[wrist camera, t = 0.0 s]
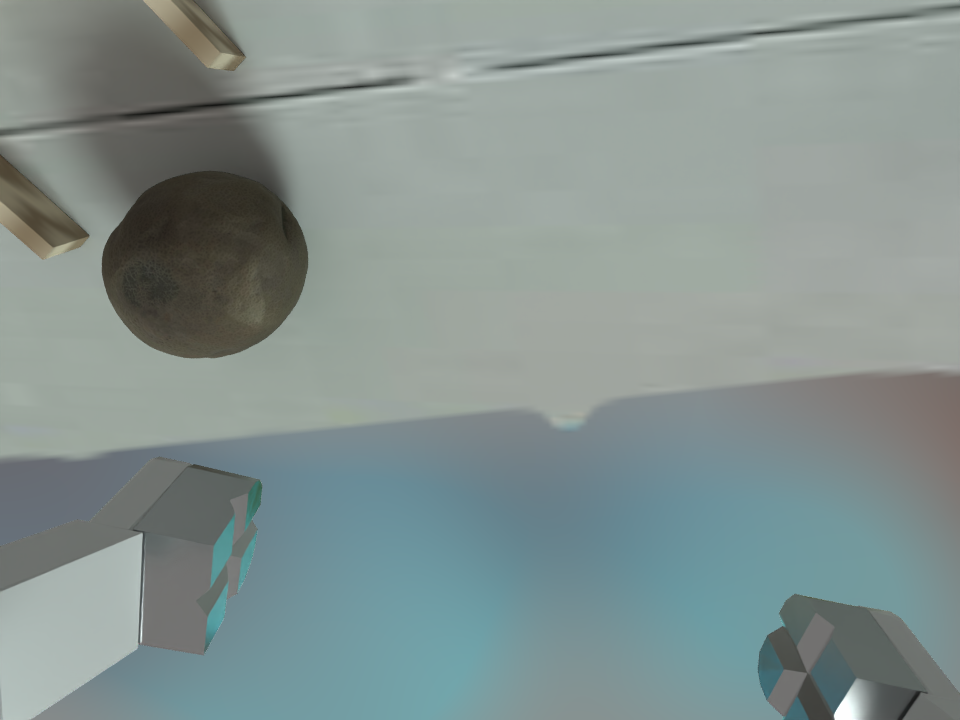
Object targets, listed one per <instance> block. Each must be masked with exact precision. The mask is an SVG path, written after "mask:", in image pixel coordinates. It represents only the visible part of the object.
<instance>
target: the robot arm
mask: <svg viewBox="0 0 960 720" xmlns="http://www.w3.org/2000/svg"><path fill="white" fill-rule="evenodd" d="M261 495H262V483H261V481H260V480H259V479H255V478H251V477H246V476H242V475H238V474H234V473H229V472H225V471H221V470H217V469H212V468H208V467H204V466H199V465H195V464H194V465H192V464H190V463H186V462H181V461H176V460H172V459H167V458H162V457H157V458H153V459H151V460H149V461H148V462H147V463H146V464H145V465H144V466H143V467H142V469H141V470H140V471H139V472H138V473H137V474H136V475H135V476H134V477H133V478H132V479H131V480H130V481H129V482H128V483H127V484H126V485H125V486H124V487H123V488H122V489H121V490H120V491H119V492H118V493H117V494H116V495H115V496H114V497H113V498H112V499H111V500H110V501H109V502H108V503H107V504H106V505H105V506H104V507H103V508H102V509H101V510H100V511H99V512H98V513H97V514H96V515H95V516H94V517H93V518H92V519H91V520H90V521H89V522H88V521H83V520H78V519H77V520H75V521H72V522H69V523H66V524H63V525H60V526H57V527H54V528H51V529H49V530H45V531H43V532H40V533H37V534H34V535H31V536H28V537H26V538H22V539H19V540H17V541H14V542H11V543H8V544H5V545H2V546H0V720H30V719H32V718H34V717H35V716H37V715H38V714H40V713H41V712H43V711H44V710H46V709H47V708H49V707H50V706H52V705H53V704H55V703H56V702H58V701H59V700H61V699H62V698H64V697H65V696H67V695H68V694H70V693H71V692H73V691H74V690H76V689H77V688H79V687H80V686H82V685H83V684H85V683H86V682H88V681H89V680H91V679H92V678H94V677H95V676H97V675H98V674H100V673H101V672H103V671H104V670H106V669H107V668H109V667H110V666H112V665H113V664H115V663H116V662H118V661H119V660H121V659H122V658H124V657H125V656H127V655H128V654H130V653H131V652H133V651H135V650H136V649H137V648H138V644H139V645H145V646H151V647H157V648H163V649H169V650H175V651H181V652H187V653H193V654H199V655H204V654H205V652H206V650H207V649H208V647H209V645H210V643H211V641H212V639H213V638H214V636H215V634H216V632H217V630H218V628H219V626H220V625H221V623H222V621H223V619H224V617H225V609H226V600H227V599H228V598H230V597H232V596H234V595H236V594H237V593H238V591H239V589H240V587H241V585H242V583H243V582H244V580H245V577H246V575H247V572H248V569H249V566H250V563H251V561H252V557H253V553H254V549H255V544H256V537H257V531H258V529H257V528H256V526H255V524H254V523H253V521H252V518H253V517H254V515H255V513H256V512H257V510H258V508H259V507H260V505H261ZM779 615H780V618H781V622H782V625H783V626H782V627H780V628H779V629H777V630H775V631H774V632H772V633H770V634H769V635H767V637H766V639H765V641H764V644H763V646H762V648H761V650H760V652H759V663H758V674H759V680H760V685H761V688H762V690H763V692H764V695H765V697H766V700H767V701H768V702H769V703H770V704H771V705H772V706H773V707H774V708H775V709H776V710H777V711H778V712H779V713H780V714H781V715H782V716H783V718H782V720H960V693H959V692H958V690H957V689H956V688H955V687H954V685H953V684H952V683H951V682H950V680H949V679H948V678H947V676H946V675H945V674H944V673H943V671H942V670H941V669H940V667H939V666H938V665H937V664H936V662H935V661H934V660H933V658H932V657H931V656H930V655H929V653H928V652H927V651H926V650H925V648H924V647H923V646H922V644H921V643H920V642H919V641H918V639H917V638H916V637H915V635H914V634H913V633H912V632H911V630H910V629H909V628H908V627H907V625H906V624H905V623H904V621H903V620H902V619H901V618H900V617H898V616H896V615H895V614H893V613H892V612H889V611H884V610H879V609H873V608H867V607H862V606H852V605H847V604H842V603H837V602H832V601H827V600H822V599H817V598H812V597H807V596H802V595H797V594H794V595H792V596H791V597H790V598H789V599H787V600H786V602H785V603H784V605H783V607H782V609H781V610H780V612H779Z"/></svg>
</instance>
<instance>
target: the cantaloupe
mask: <svg viewBox="0 0 960 720" xmlns="http://www.w3.org/2000/svg"><path fill="white" fill-rule="evenodd" d="M307 269H308V251H307V246H306V242H305V239H304V235H303V232H302V230H301V227H300V226H299V224H298V221H297V220H296V218H295V217H294V216H293V214H292V212H291V211H290V210H289V209H288V207H287V206H286V205H285V204H284V203H283V202H282V201H281V200H280V199H279V198H278V197H277V196H276V195H275V194H273V193H272V192H271V191H269V190H268V189H267V188H266V187H265V186H263V185H262V184H260V183H258V182H256V181H253V180H250V179H247V178H244V177H240V176H237V175H234V174H230V173H226V172H218V171H204V172H195V173H189V174H184V175H180V176H176V177H173V178H170V179H167V180H165V181H163V182H161V183H158V184H156V185H155V186H153V187H151V188H150V189H148V190H147V191H145V192H144V193H143V194H142V195H141V196H140V197H139V198H138V200H137V201H136V202H135V204H134V205H133V206H132V207H131V209H130V210H129V211H128V213H127V214H126V216H125V218H124V219H123V221H122V222H121V223H120V224H119V225H118V227H117V228H116V229H115V230H114V231H113V232H112V233H111V235H110V237H109V239H108V241H107V243H106V245H105V248H104V251H103V257H102V276H103V281H104V285H105V288H106V292H107V295H108V297H109V300H110V302H111V304H112V306H113V307H114V309H115V311H116V313H117V314H118V316H119V317H120V318H121V320H122V321H123V323H124V324H125V325H126V326H127V327H128V328H129V330H130V331H131V332H132V333H133V334H134V335H135V336H136V337H138V338H139V339H140V340H141V341H143V342H144V343H145V344H147V345H149V346H150V347H152V348H154V349H156V350H159V351H162V352H165V353H168V354H171V355H175V356H179V357H183V358H218V357H223V356H227V355H232V354H235V353H238V352H241V351H243V350H246V349H247V348H249V347H251V346H253V345H255V344H257V343H259V342H260V341H262V340H264V339H265V338H267V337H268V336H269V335H270V334H272V333H273V332H274V331H275V330H276V329H277V328H278V327H279V326H280V325H281V324H282V323H283V321H284V320H285V319H286V318H287V316H288V315H289V314H290V313H291V311H292V310H293V308H294V307H295V305H296V304H297V302H298V300H299V297H300V295H301V292H302V289H303V286H304V283H305V278H306V274H307Z"/></svg>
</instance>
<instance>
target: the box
mask: <svg viewBox="0 0 960 720" xmlns="http://www.w3.org/2000/svg"><path fill="white" fill-rule="evenodd" d="M143 1H144V2H145V3H146V4H147V5H148V6H149V7H150V8H151V9H152V10H153V11H154V12H155V13H156V15H157V16H158V17H159V18H160V19H161V20H162V21H163V22H164V23H165V24H166V25H167V26H168V27H169V28H170V29H171V30H172V31H173V32H174V33H175V34H176V35H177V37H178V38H179V39H180V40H181V41H182V42H183V43H184V44H185V45H186V46H187V47H188V48H189V49H190V50H191V51H192V52H193V53H194V54H195V55H196V56H197V58H198V59H199V60H200V61H201V62H202V63H203V64H204V65H205V66H206V67H207V68H213V69H222V70H230V71H234V70H235V69H236V68H237V67H238V65H239V64H240V63H241V62H242V61H243V60H244V59H245V56H244V55H243V54H242V52H241V51H240V50H239V49H238V48H237V47H236V46H235V45H234V44H233V43H232V42H231V41H230V40H229V38H228V37H227V36H226V35H225V34H224V33H223V32H222V31H221V30H220V29H219V28H218V27H217V26H216V24H215V23H214V22H213V21H212V20H211V19H210V18H209V17H208V16H207V15H206V14H205V13H204V12H203V10H202V9H201V8H200V7H199V6H198V5H197V4H196V3H195V2H194V1H193V0H143ZM0 223H1V224H3V225H4V226H5V227H6V228H7V229H8V230H9V231H11V232H12V233H13V234H14V235H15V236H16V237H17V238H19V239H20V240H21V241H22V242H23V243H24V244H25V245H27V246H28V247H29V248H30V249H31V250H32V251H33V252H35V253H36V254H37V255H38V256H39V257H40V258H41V259H43V260H44V259H47V258H50V257H53V256H56V255H59V254H61V253H64V252H67V251H70V250H73V249H76V248H79V247H81V245H82V244H83V243H84V242H85V241H86V240H87V239H88V237H89V235H88V234H87V233H86V232H85V231H84V230H83V229H81V228H80V227H79V226H78V225H77V224H76V223H75V222H74V221H73V220H72V219H70V218H69V217H68V216H67V215H66V214H65V213H64V212H63V211H62V210H61V209H59V208H58V207H57V206H56V205H55V204H54V203H53V202H52V201H51V200H49V199H48V198H47V197H46V196H45V195H44V194H43V193H42V192H41V191H40V190H38V189H37V188H36V187H35V186H34V185H33V184H32V183H31V182H30V181H29V180H27V179H26V178H25V177H24V176H23V175H22V174H21V173H20V172H19V171H18V170H16V169H15V168H14V167H13V166H12V165H11V164H10V163H9V162H8V161H6V160H5V159H4V158H3V157H2V156H1V155H0Z"/></svg>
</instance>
